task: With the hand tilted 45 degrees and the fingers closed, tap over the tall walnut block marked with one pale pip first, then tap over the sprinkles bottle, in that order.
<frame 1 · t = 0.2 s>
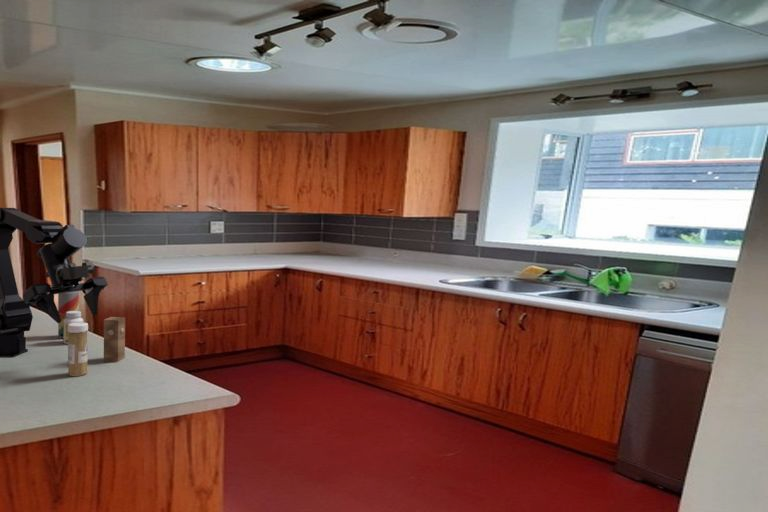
hand: (78, 319, 128), 15 cm above the worktop, tool tilted 30°, fingers open, 9 cm apart
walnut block: (114, 359, 143), on the worktop
lotion bottle: (68, 337, 163), on the worktop
sprinkles bottle: (77, 374, 130), on the worktop
supplement bottle: (73, 343, 158), on the worktop
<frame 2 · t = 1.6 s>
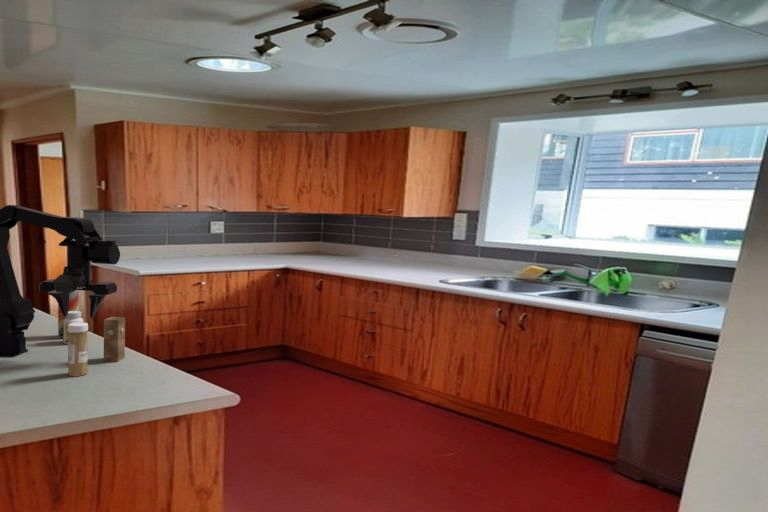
hand: (78, 316, 142), 12 cm above the worktop, tool pointing down, fingers open, 7 cm apart
nothing on the worktop moved.
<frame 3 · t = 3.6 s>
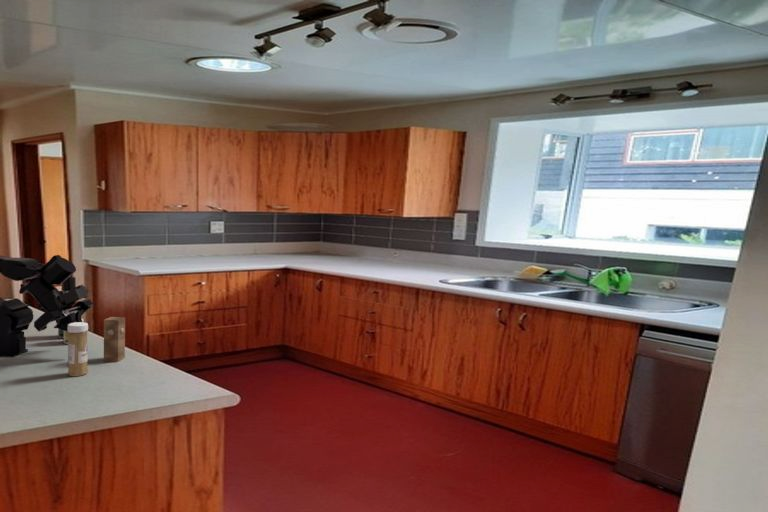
hand: (85, 336, 143), 6 cm above the worktop, tool tilted 45°, fingers closed
nothing on the worktop moved.
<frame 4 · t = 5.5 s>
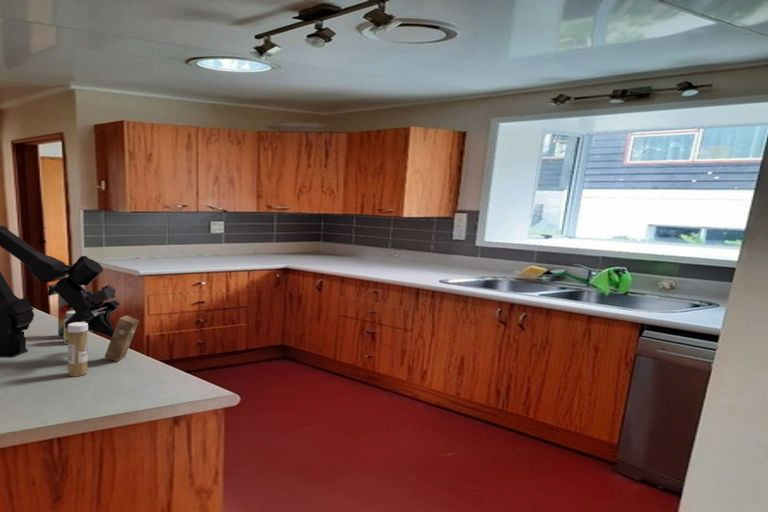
hand: (114, 336, 143), 7 cm above the worktop, tool tilted 45°, fingers closed
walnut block: (114, 357, 143), point 1 cm above the worktop, tilted 20°
everything else where it was.
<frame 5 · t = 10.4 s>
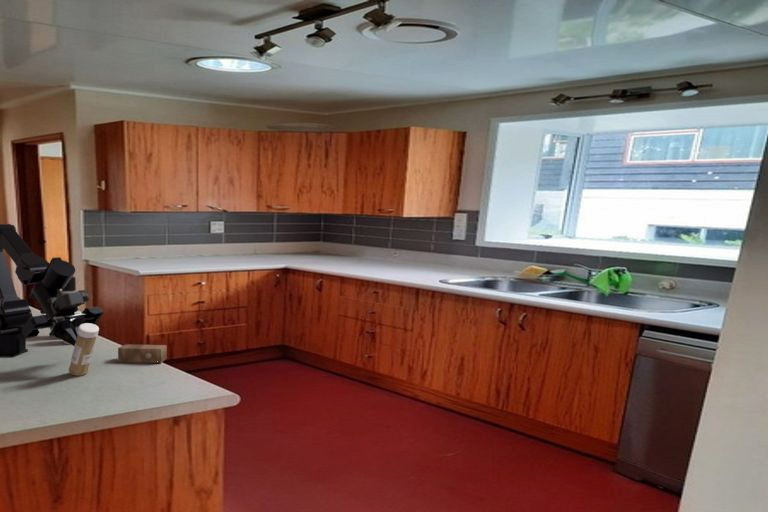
hand: (79, 346, 129), 7 cm above the worktop, tool tilted 45°, fingers closed
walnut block: (121, 353, 143), point 2 cm above the worktop, tilted 88°
sprinkles bottle: (78, 371, 130), point 1 cm above the worktop, touching gripper
everything else where it was.
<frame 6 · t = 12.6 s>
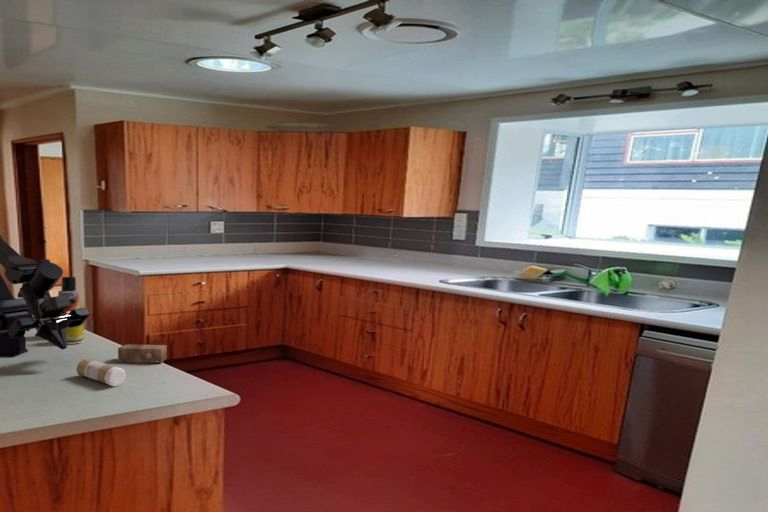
hand: (64, 348, 132), 6 cm above the worktop, tool tilted 45°, fingers closed
sprinkles bottle: (83, 366, 129), point 2 cm above the worktop
everything else where it was.
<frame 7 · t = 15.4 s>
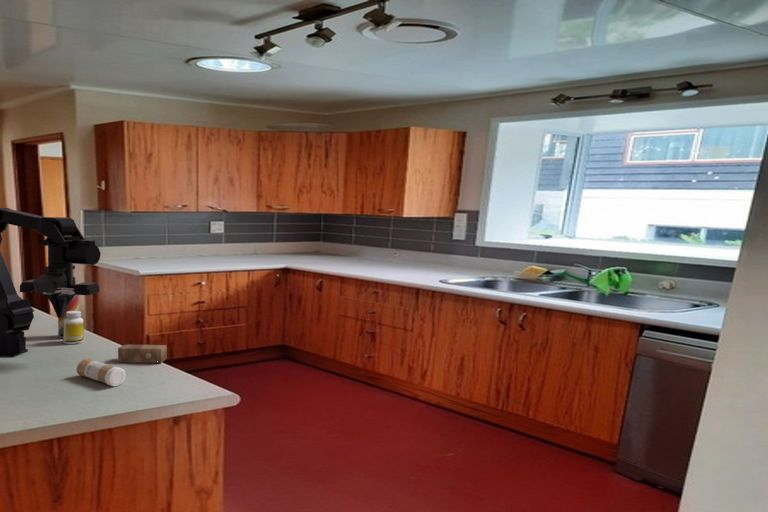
hand: (60, 317, 140), 12 cm above the worktop, tool pointing down, fingers closed
nothing on the worktop moved.
at the end: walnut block tilted 88°; sprinkles bottle tilted 90° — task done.
